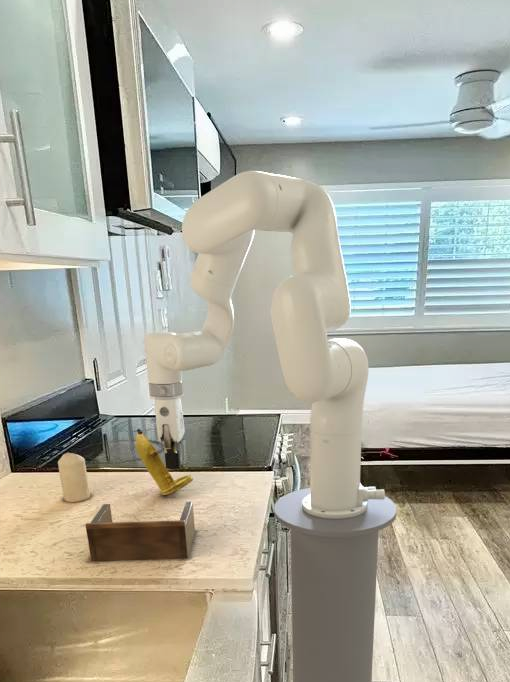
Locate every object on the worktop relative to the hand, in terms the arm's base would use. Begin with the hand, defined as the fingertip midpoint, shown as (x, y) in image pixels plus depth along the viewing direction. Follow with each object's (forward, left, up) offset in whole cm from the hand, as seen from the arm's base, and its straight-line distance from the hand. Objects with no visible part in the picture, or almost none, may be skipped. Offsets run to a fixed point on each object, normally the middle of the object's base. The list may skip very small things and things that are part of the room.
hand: (173, 467), depth 135 cm
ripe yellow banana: (0, +11, -3) cm, 11 cm away
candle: (+20, +11, -3) cm, 23 cm away
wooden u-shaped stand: (0, +36, -3) cm, 36 cm away
